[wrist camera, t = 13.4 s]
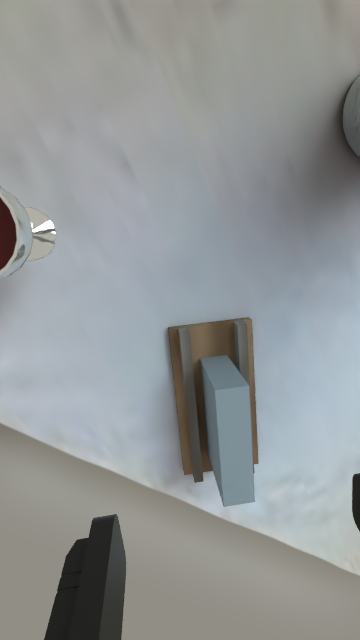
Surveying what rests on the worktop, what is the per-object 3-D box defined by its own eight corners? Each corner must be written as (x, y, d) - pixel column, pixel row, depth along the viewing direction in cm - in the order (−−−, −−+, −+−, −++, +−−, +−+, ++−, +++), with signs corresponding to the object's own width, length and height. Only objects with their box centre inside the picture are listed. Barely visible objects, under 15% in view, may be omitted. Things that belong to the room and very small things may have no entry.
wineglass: (78, 250, 33) (41, 256, 22) (17, 280, 33) (-51, 302, 22) (41, 185, 31) (-19, 152, 20) (-22, 216, 32) (-119, 202, 20)
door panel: (226, 354, 36) (249, 385, 29) (233, 450, 39) (254, 501, 31) (200, 358, 36) (214, 390, 28) (208, 453, 39) (223, 506, 31)
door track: (248, 317, 37) (256, 323, 34) (255, 458, 41) (262, 471, 39) (168, 327, 36) (169, 333, 34) (183, 469, 40) (186, 483, 38)
